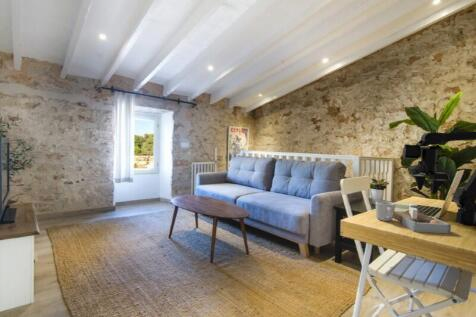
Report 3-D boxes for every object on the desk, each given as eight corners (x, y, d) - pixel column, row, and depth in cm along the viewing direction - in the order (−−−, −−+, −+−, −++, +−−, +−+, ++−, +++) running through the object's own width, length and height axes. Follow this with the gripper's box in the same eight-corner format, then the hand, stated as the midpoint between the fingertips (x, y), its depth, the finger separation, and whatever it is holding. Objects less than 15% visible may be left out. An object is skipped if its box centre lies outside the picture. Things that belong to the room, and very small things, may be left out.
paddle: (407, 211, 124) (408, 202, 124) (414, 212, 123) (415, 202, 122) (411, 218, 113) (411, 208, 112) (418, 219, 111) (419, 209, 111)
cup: (399, 225, 112) (401, 207, 111) (379, 223, 113) (381, 205, 113) (390, 218, 122) (391, 201, 121) (372, 216, 124) (373, 200, 123)
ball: (438, 229, 105) (429, 229, 108) (443, 227, 106) (434, 227, 109) (434, 221, 105) (426, 221, 109) (439, 218, 107) (431, 219, 110)
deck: (419, 217, 125) (419, 211, 124) (438, 226, 112) (439, 220, 111) (389, 216, 125) (389, 210, 125) (405, 224, 112) (405, 218, 112)
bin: (435, 226, 112) (435, 218, 111) (450, 233, 103) (451, 224, 103) (401, 224, 112) (402, 216, 112) (413, 231, 104) (414, 223, 104)
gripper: (399, 157, 131) (397, 188, 132) (424, 160, 112) (422, 196, 113) (421, 158, 130) (419, 188, 131) (451, 160, 112) (448, 196, 113)
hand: (426, 192), depth 122 cm, fingers open, 9 cm apart
